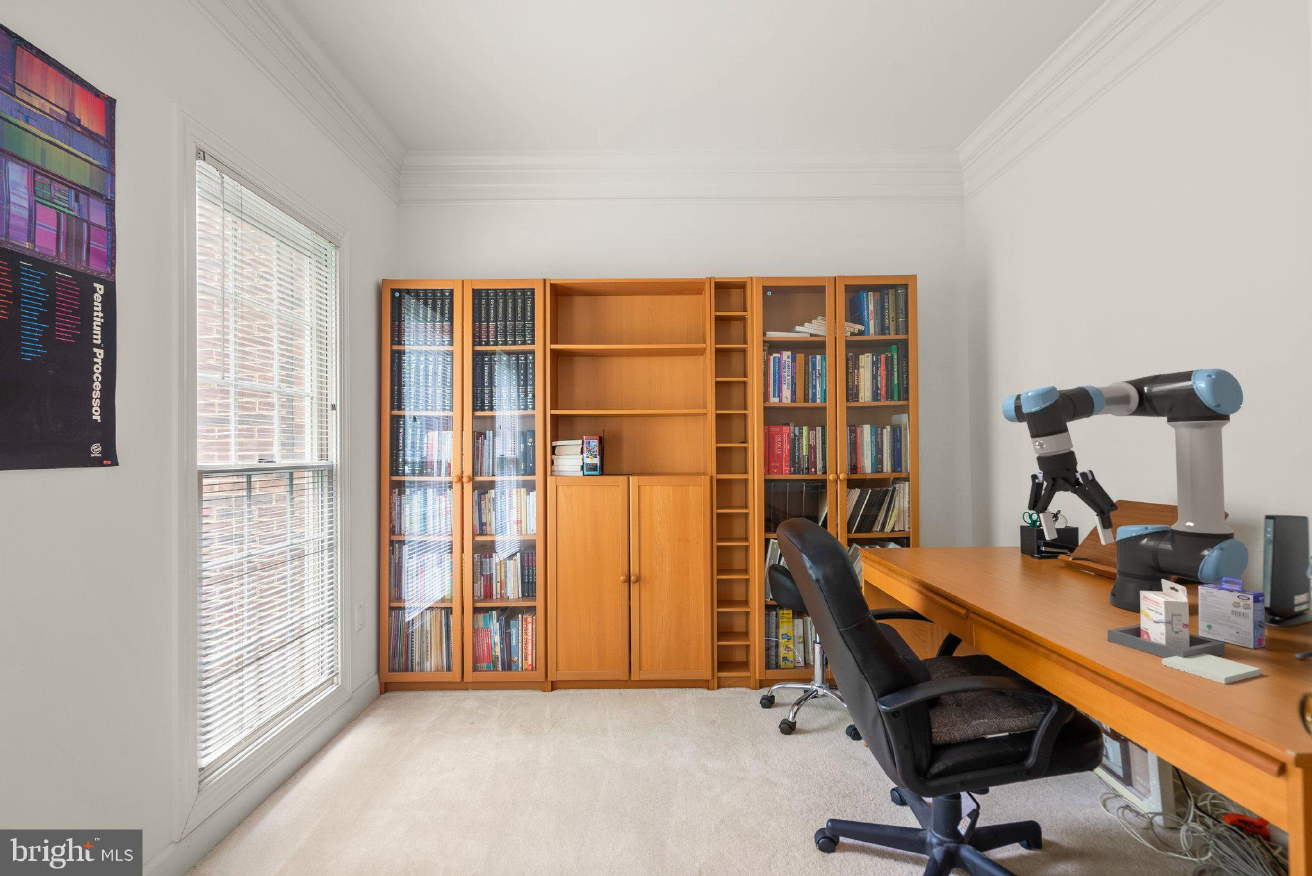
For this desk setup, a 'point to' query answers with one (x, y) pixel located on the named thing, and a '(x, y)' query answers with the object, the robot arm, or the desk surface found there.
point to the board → (1212, 667)
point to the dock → (1132, 639)
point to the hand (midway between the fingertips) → (1078, 540)
